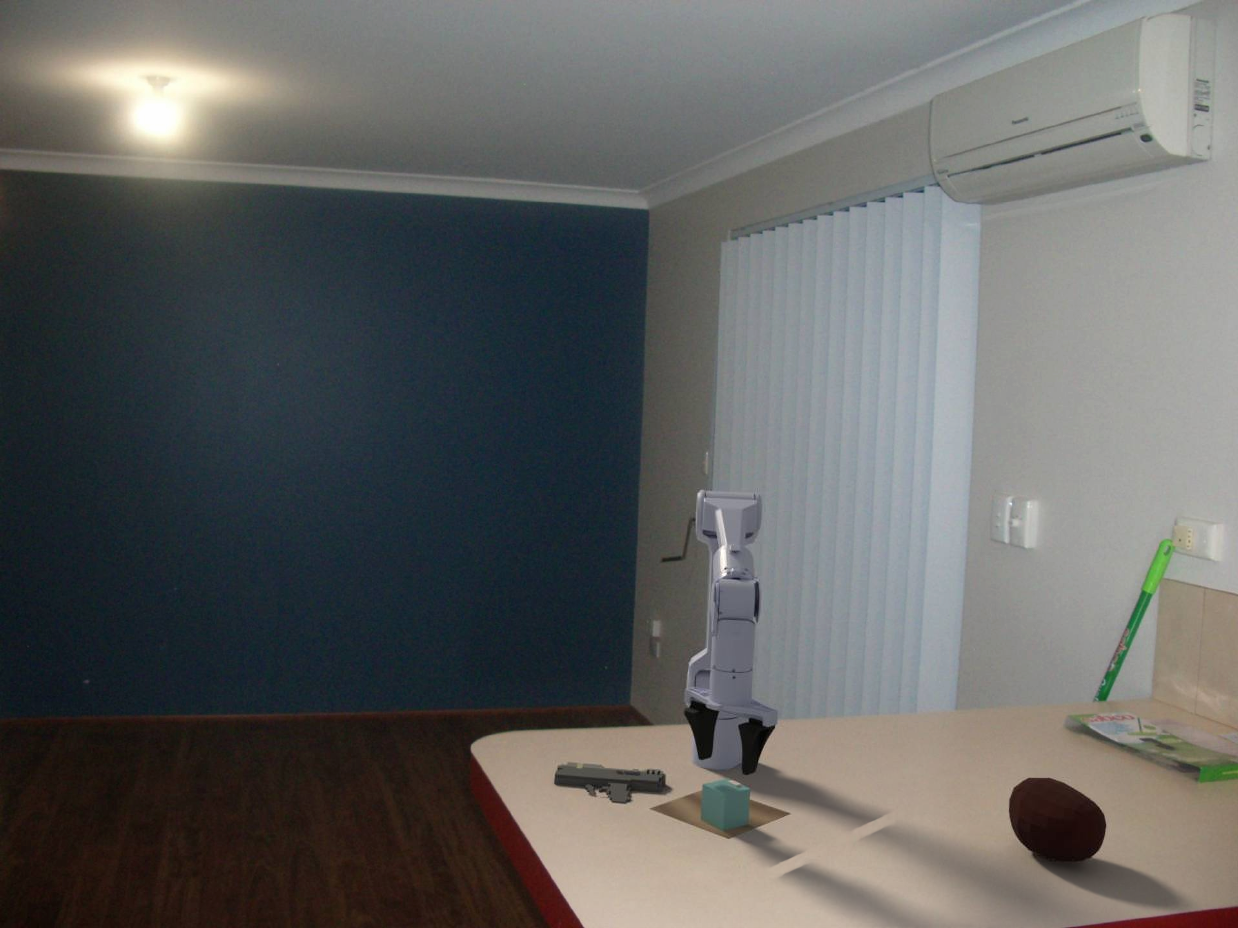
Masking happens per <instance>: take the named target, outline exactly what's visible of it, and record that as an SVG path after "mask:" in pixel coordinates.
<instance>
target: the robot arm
mask: <svg viewBox="0 0 1238 928" xmlns="http://www.w3.org/2000/svg"><path fill="white" fill-rule="evenodd" d="M762 515H763V500H762V496H761V494H760V493H759V492H758V491H757V492H755V491H754V492H740V491H739V492H735V491H719V490H718V491H715V490H705V489H700V490H699V491H698V492H697V495H696V508H695V536H696V540H697V541H699V542H701V543H704V544H705V545H707V548H708V552H709V556H710V567H709V590H708V609H707V613H708V614H707V631H706V634H707V635H706V647H705V648H704V649H702V651H701V650H700V652H698V653H696V654H695V655H694V656H692V657H691V658H690V661H688V669H687V670H688V671H687V675H686V688H685V689H684V698H683V699H684V700H683V702H684V703H686V704H685V705H686V706H687V707H686V708H684V709H683V710H684V711H683V712H684V713H683V715H684V717H685V718H686V721H687V722H688V724H689V727H690V728H691V729H690V730H691V732H692V739H691V741H692V743H691V763H692V764H693V765H695V766H697V767H699V768H703V769H707V770H716V771H717V770H718V771H720V770H721V771H722V770H724V771H725V770H730V769H733V768H736V767H737V766H738V765H739V764H741V773H742V775H745V776H749V775H752V774H755V773H756V772H757V768H758V765H759V764H758V763H759V761H760V758H761V755H762V752H763V750H764V748H765V745H766V743H767V741H768V740H769V738H770V737H771V734H772V733H773V732H774V730H775V729H776V725H778V716H779V710H778V709H775V708H772V707H769V706H767V705H765V704H763V703H761V702H759V701H757V700H755V699H753V698H752V694H753V680H754V678H753V677H754V664H755V661H754V659H755V643H756V641H755V640H756V628H757V627H756V623H757V624H758V623H759V621H760V616H761V608H762V589H761V588H762V586H761V582H760V579H759V577H758V576H756V574H755V564H754V563H755V561H754V555H753V553H752V552H751V551H750V550H749V548H747V547H746V546H749V545H750V544H754V543H755V541H756V539H757V538H758V535H759V533H760V530H761V525H762ZM754 618H755V622H756V623H755V622H754ZM708 669H709V670H708Z"/></svg>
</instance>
